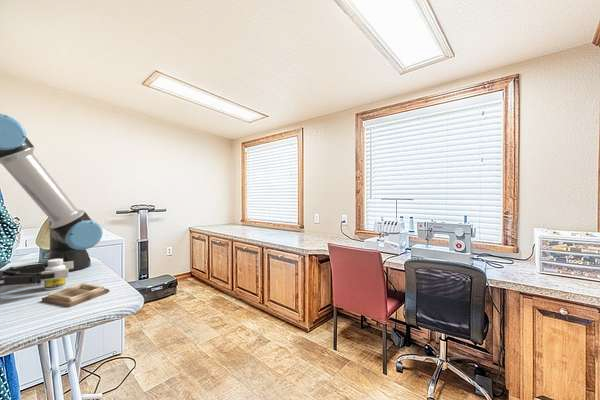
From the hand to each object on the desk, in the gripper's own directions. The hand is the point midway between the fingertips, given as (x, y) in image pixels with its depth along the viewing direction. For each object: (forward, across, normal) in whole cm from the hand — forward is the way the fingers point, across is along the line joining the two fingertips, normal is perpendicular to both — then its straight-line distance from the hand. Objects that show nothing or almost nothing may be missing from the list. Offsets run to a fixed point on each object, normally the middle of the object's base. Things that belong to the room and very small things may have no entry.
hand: (70, 268), depth 94 cm
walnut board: (+3, +13, -6) cm, 15 cm away
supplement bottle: (-4, 0, -6) cm, 7 cm away
